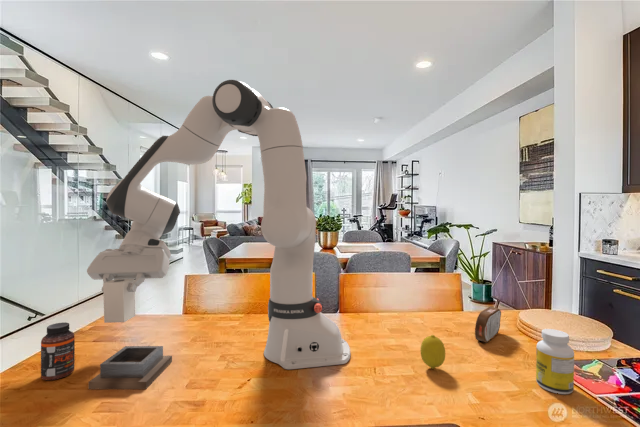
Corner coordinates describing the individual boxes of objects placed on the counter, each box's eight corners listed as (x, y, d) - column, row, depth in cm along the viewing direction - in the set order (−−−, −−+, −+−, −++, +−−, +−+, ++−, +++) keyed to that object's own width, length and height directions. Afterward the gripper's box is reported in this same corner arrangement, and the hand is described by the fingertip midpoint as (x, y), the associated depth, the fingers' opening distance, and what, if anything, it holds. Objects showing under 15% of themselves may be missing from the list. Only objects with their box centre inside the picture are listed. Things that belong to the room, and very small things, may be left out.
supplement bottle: (55, 383, 70) (55, 331, 69) (33, 380, 71) (33, 329, 71) (81, 369, 75) (80, 321, 75) (60, 367, 77) (60, 319, 76)
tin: (491, 329, 101) (491, 302, 101) (502, 332, 98) (503, 305, 98) (473, 344, 90) (473, 314, 90) (485, 347, 88) (485, 316, 88)
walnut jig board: (172, 361, 79) (172, 355, 79) (146, 388, 67) (146, 381, 67) (123, 361, 79) (122, 355, 79) (88, 389, 67) (88, 382, 67)
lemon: (429, 376, 73) (429, 341, 72) (415, 364, 78) (416, 331, 78) (450, 372, 74) (450, 338, 74) (435, 361, 79) (436, 329, 79)
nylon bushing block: (135, 315, 86) (134, 278, 86) (124, 322, 81) (123, 282, 81) (116, 316, 86) (115, 278, 86) (104, 322, 81) (103, 282, 81)
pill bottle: (537, 375, 73) (538, 324, 73) (574, 386, 69) (574, 331, 69) (534, 388, 68) (534, 333, 68) (573, 399, 64) (574, 341, 64)
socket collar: (163, 358, 78) (162, 346, 78) (142, 378, 69) (142, 364, 69) (125, 358, 78) (125, 346, 78) (100, 378, 69) (100, 364, 69)
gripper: (96, 242, 90) (70, 285, 81) (169, 241, 91) (152, 283, 81) (107, 256, 95) (84, 298, 85) (176, 254, 95) (161, 296, 86)
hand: (118, 291), depth 83 cm, fingers closed on nylon bushing block, 5 cm apart
